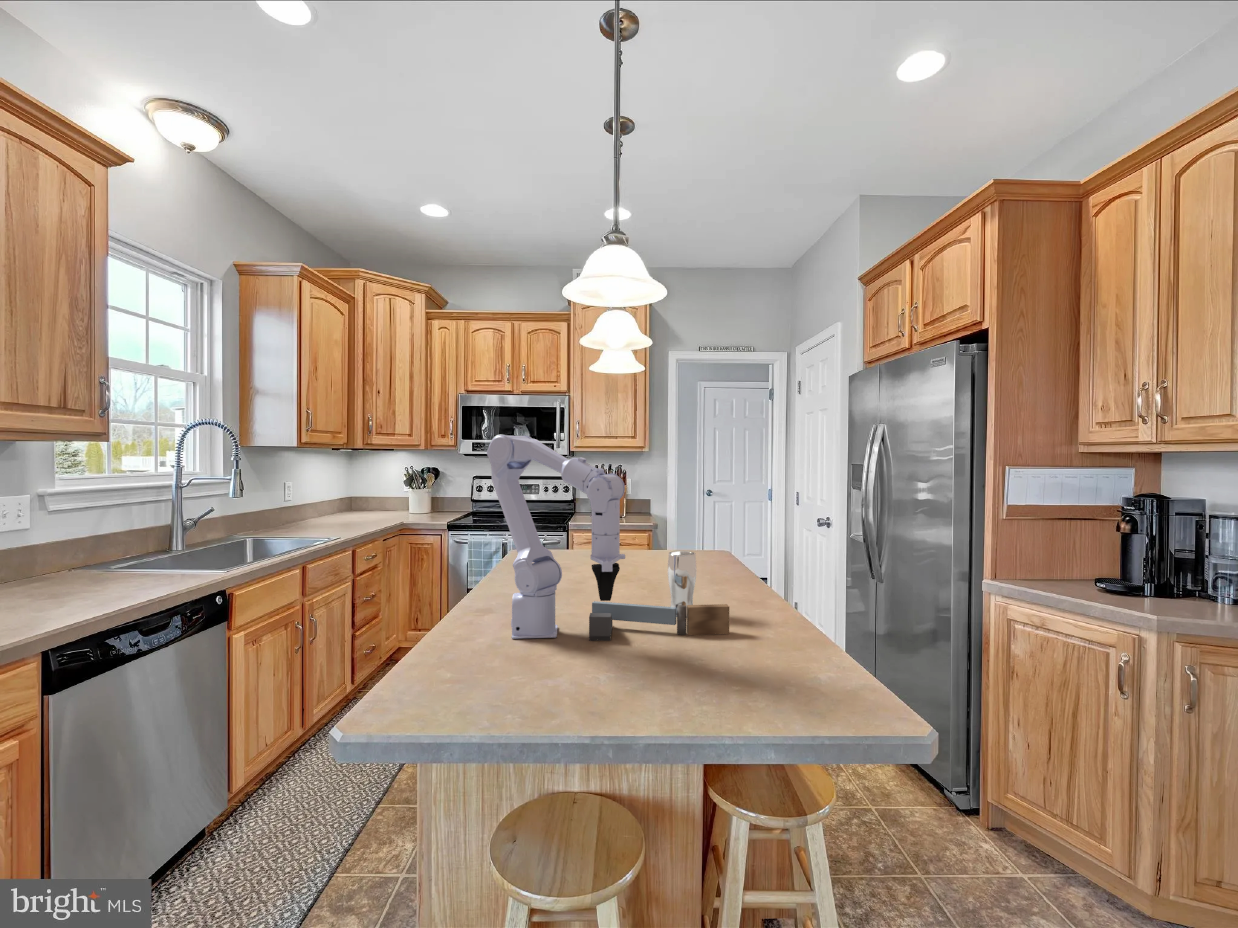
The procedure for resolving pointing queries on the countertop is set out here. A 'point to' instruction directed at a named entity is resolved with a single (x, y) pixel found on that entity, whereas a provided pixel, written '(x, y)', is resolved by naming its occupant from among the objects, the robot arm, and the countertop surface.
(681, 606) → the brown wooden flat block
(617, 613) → the long pale blue beam
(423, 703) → the countertop surface
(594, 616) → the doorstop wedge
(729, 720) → the countertop surface
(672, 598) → the beer glass
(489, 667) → the countertop surface
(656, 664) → the countertop surface
